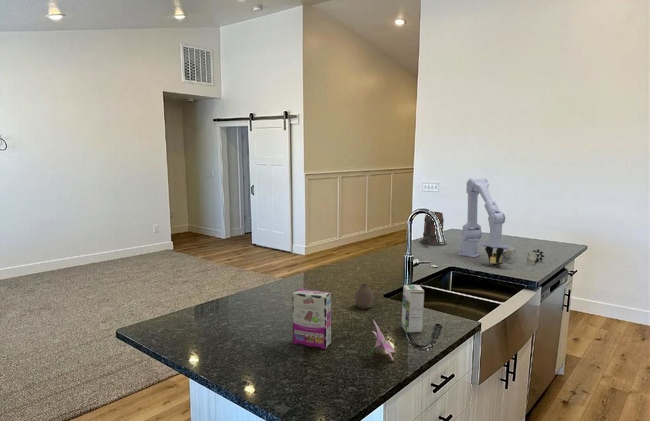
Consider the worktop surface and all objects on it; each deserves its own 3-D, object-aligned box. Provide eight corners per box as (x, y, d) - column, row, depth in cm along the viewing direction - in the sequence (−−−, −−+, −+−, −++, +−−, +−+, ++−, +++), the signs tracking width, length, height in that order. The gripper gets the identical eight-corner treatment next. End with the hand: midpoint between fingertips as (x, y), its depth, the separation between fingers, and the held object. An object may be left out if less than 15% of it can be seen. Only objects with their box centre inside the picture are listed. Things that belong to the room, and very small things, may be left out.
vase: (367, 311, 159) (368, 288, 158) (351, 307, 163) (351, 285, 162) (375, 305, 165) (376, 283, 164) (359, 302, 169) (360, 280, 167)
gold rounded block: (487, 264, 222) (487, 253, 222) (494, 260, 231) (495, 250, 230) (498, 266, 219) (498, 255, 218) (505, 262, 227) (506, 251, 227)
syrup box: (401, 325, 146) (402, 284, 144) (418, 325, 147) (419, 284, 145) (405, 332, 141) (406, 290, 139) (423, 332, 141) (424, 289, 139)
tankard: (424, 239, 287) (425, 209, 284) (449, 242, 279) (451, 211, 276) (412, 246, 267) (413, 214, 264) (439, 249, 259) (440, 216, 256)
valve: (536, 266, 222) (544, 262, 230) (537, 254, 221) (545, 250, 229) (522, 264, 227) (531, 260, 235) (523, 251, 226) (532, 248, 234)
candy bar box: (331, 343, 133) (332, 292, 131) (326, 350, 129) (326, 297, 126) (298, 337, 137) (298, 287, 135) (292, 343, 133) (291, 292, 130)
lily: (381, 375, 116) (399, 345, 116) (347, 348, 122) (364, 320, 121) (395, 369, 127) (411, 342, 126) (363, 345, 132) (379, 318, 132)
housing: (491, 260, 234) (492, 247, 233) (496, 257, 240) (497, 245, 239) (510, 263, 227) (511, 250, 226) (515, 260, 233) (516, 247, 232)
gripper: (478, 235, 221) (477, 260, 223) (507, 239, 212) (505, 265, 214) (483, 233, 227) (482, 258, 229) (512, 237, 217) (510, 263, 219)
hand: (493, 261), depth 222 cm, fingers closed on gold rounded block, 3 cm apart
